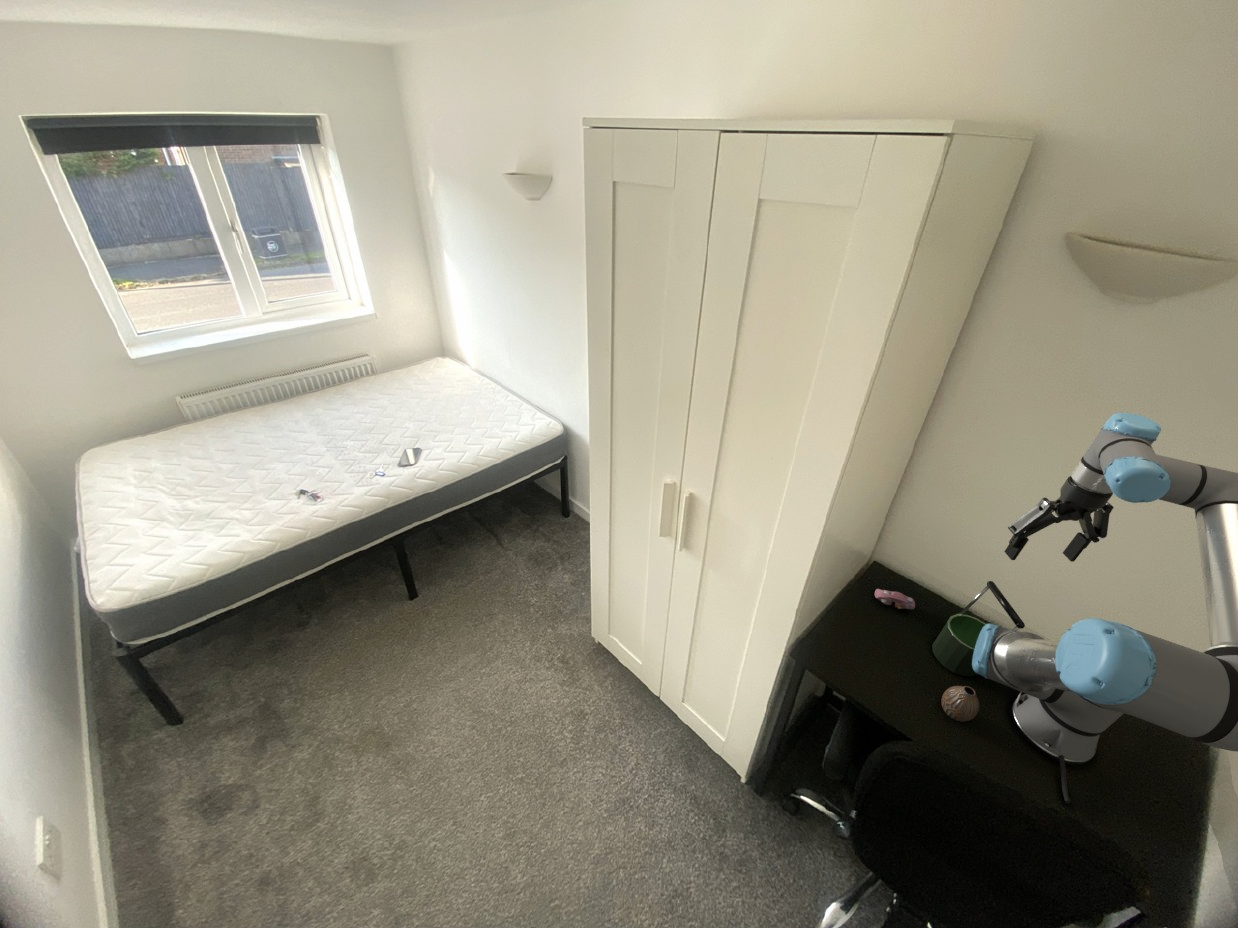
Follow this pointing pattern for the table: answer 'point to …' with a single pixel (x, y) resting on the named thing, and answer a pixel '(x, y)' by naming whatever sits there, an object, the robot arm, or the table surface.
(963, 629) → the bucket
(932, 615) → the table surface
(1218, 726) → the robot arm
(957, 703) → the vase
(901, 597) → the video game controller
